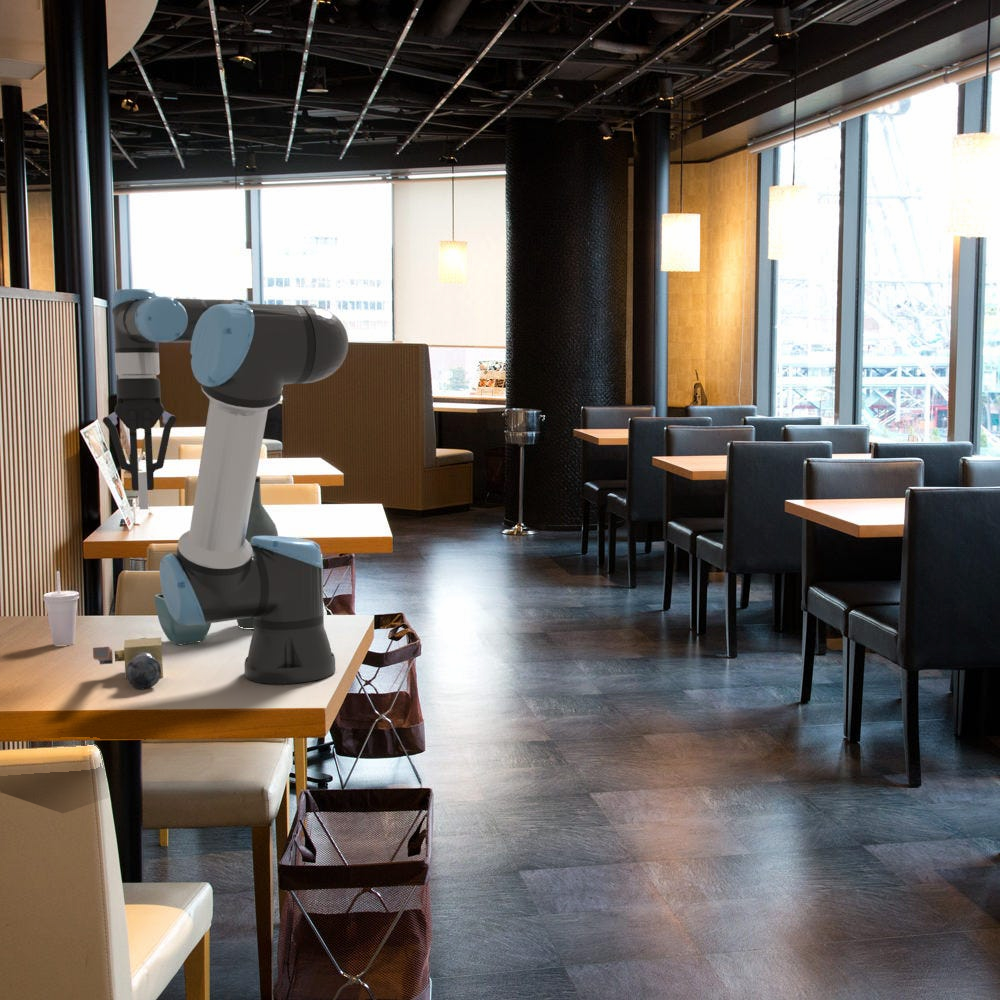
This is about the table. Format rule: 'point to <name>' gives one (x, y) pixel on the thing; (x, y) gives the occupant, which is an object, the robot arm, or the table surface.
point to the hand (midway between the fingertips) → (143, 508)
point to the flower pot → (178, 625)
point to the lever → (103, 655)
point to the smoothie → (62, 614)
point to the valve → (142, 661)
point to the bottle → (257, 532)
